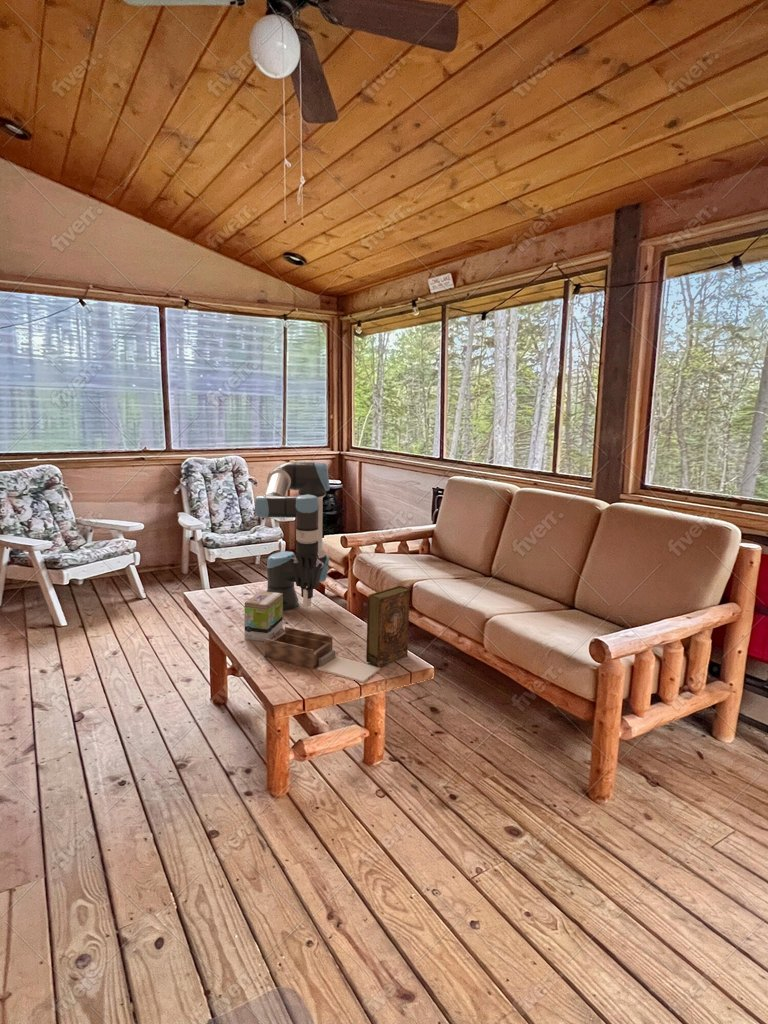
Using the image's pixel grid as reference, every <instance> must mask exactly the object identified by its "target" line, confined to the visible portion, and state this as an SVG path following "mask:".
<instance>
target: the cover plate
mask: <svg viewBox="0 0 768 1024" xmlns="http://www.w3.org/2000/svg"><path fill="white" fill-rule="evenodd" d="M379 669H380V670H381V667H380V668H379V667H377V666H376V665H375V666H374V665H371V664H369V663H368V664H367V663H364V662H359V661H356V660H352V659H348V658H345V657H342V656H337V655H336V650H334V649H332V651H330V652H329V653H327V654H326V655H324V656H322V657H321V658H319V665H318V666H317V670H318V671H319V672H320V671H321V672H324V673H328V674H331V675H335V676H337V677H341V678H344V677H345V678H344V679H348V680H352V681H354V680H355V682H358V683H362V684H363V683H366V682H367V681H368V680H369V679H370V678H372V677H373V676H374V675H375V674H376V673H375V672H377V671H378V670H379ZM380 670H379V671H380ZM379 671H378V672H379ZM378 672H377V673H378ZM374 673H375V674H374ZM373 674H374V675H373ZM372 675H373V676H372ZM371 676H372V677H371ZM369 677H370V678H369ZM368 678H369V679H368ZM367 679H368V680H367Z"/></svg>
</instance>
